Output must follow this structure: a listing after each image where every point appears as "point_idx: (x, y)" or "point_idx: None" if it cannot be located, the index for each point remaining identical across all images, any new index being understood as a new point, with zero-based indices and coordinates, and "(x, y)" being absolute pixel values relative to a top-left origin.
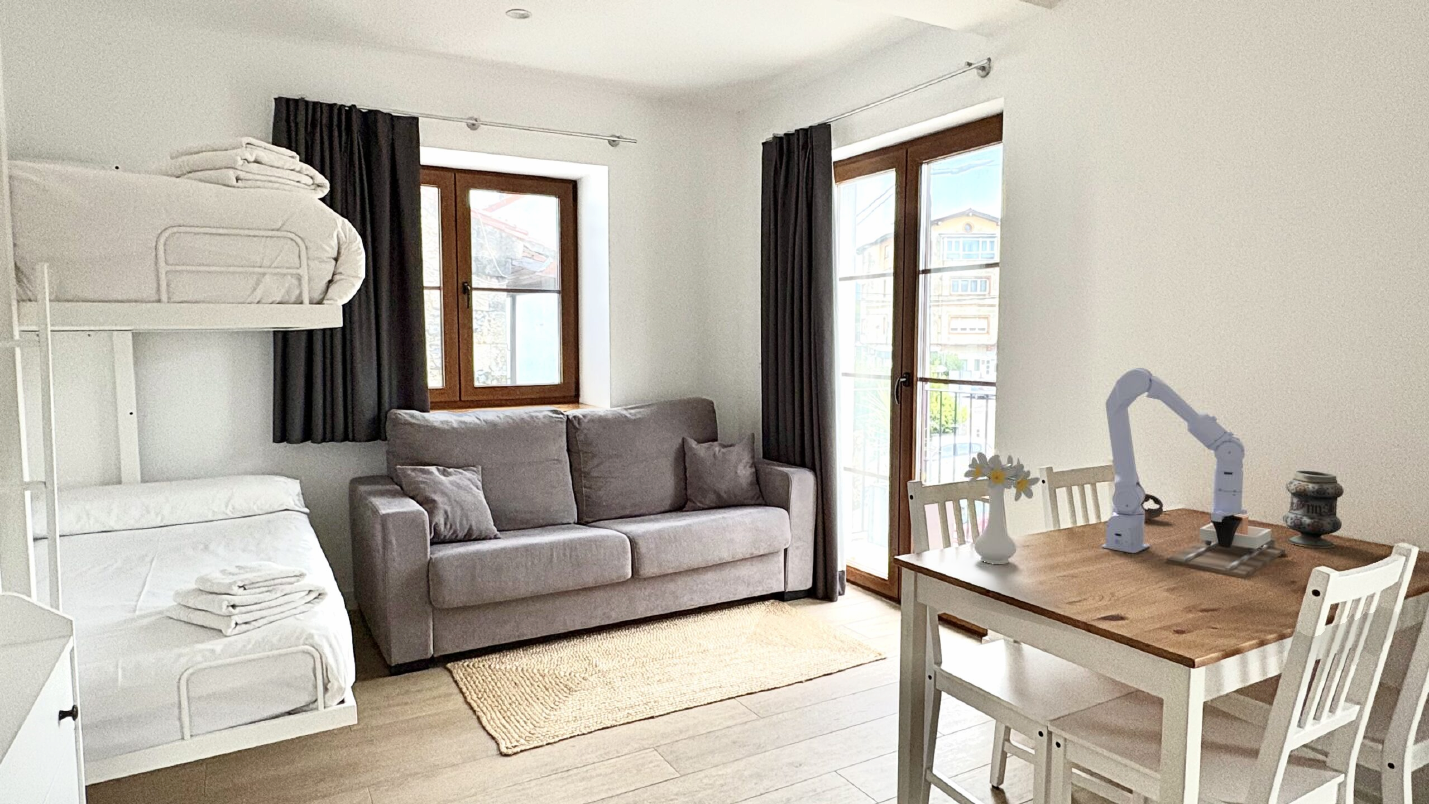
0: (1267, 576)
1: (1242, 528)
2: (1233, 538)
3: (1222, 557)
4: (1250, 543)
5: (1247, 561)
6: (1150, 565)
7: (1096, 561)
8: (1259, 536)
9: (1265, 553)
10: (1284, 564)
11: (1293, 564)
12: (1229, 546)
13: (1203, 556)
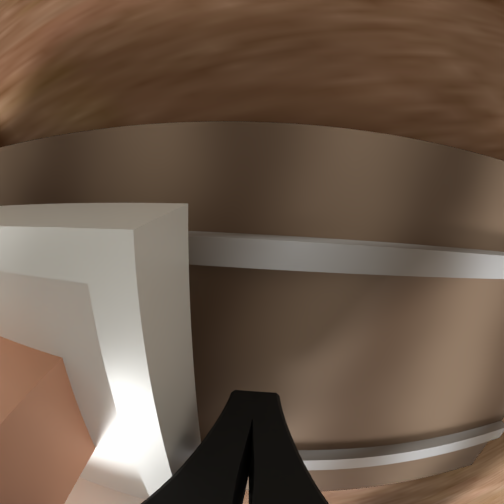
0: (488, 86)
1: (3, 418)
2: (211, 434)
3: (338, 370)
4: (174, 277)
5: (344, 222)
6: (499, 454)
7: (487, 500)
8: (33, 225)
9: (29, 192)
10: (119, 56)
11: (90, 32)
12: (275, 399)
13: (375, 429)
